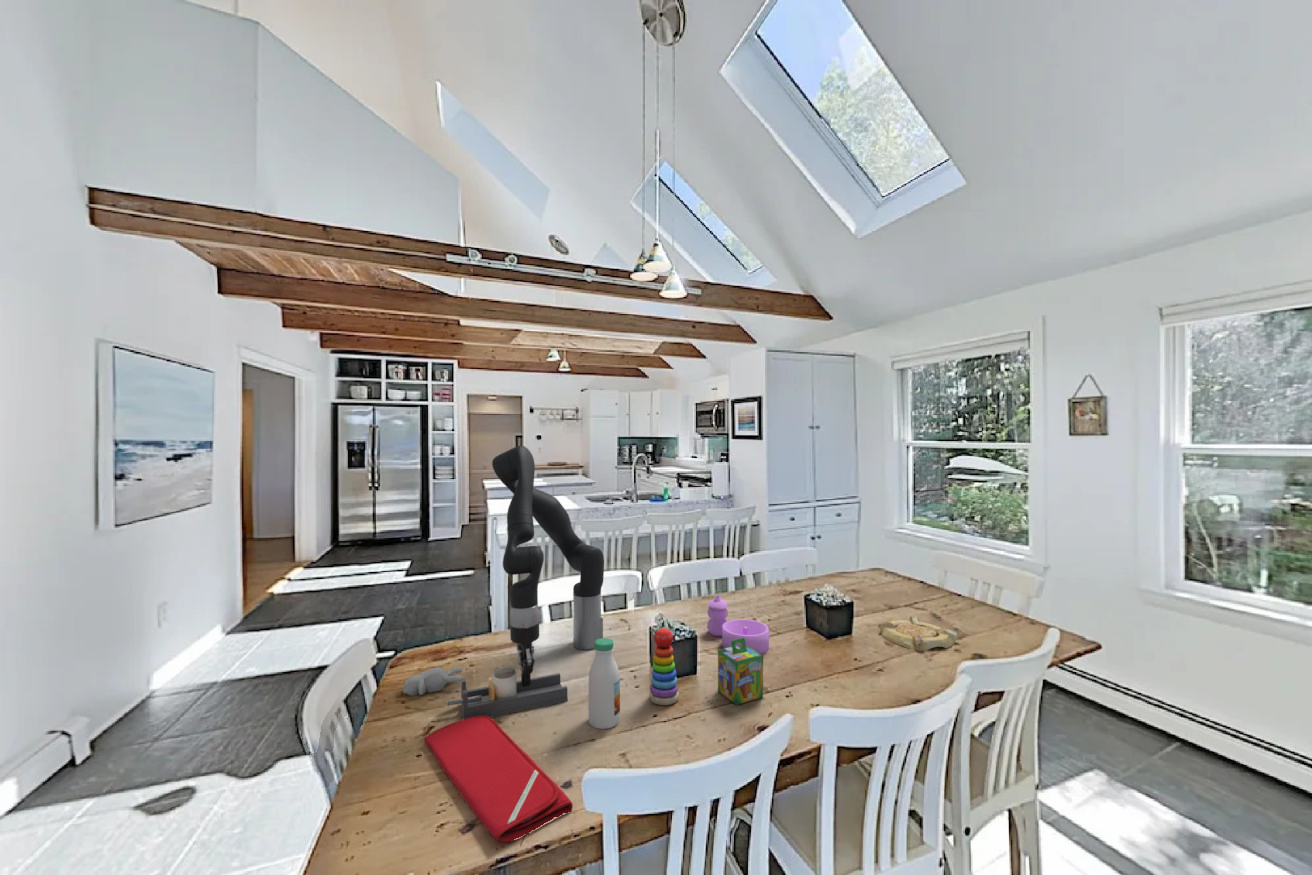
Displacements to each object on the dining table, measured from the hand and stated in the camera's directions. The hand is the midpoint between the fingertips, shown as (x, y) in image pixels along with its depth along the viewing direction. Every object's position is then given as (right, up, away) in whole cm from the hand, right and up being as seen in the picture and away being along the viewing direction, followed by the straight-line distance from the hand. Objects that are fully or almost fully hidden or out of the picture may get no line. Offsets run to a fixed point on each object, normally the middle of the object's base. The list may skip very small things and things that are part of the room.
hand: (526, 685), depth 141 cm
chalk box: (+58, -4, +2) cm, 58 cm away
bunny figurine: (-27, -4, +6) cm, 28 cm away
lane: (-2, -4, -2) cm, 5 cm away
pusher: (-13, -2, -6) cm, 14 cm away
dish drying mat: (0, -5, -30) cm, 31 cm away
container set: (+62, -3, +38) cm, 73 cm away
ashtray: (+125, -3, +41) cm, 132 cm away
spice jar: (-5, -3, -3) cm, 6 cm away
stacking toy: (+37, -4, 0) cm, 37 cm away
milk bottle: (+22, -4, -11) cm, 25 cm away
